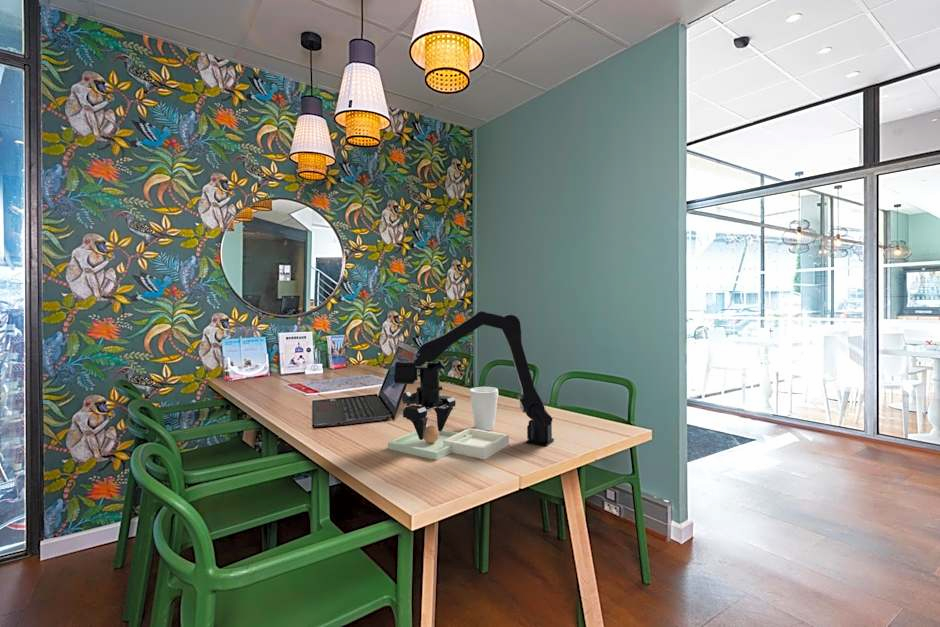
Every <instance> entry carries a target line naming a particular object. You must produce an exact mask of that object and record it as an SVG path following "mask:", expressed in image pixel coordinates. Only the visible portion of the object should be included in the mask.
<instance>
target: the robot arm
mask: <svg viewBox="0 0 940 627" xmlns="http://www.w3.org/2000/svg"><path fill="white" fill-rule="evenodd" d="M483 325H484V326H489V327H493V328H495V329H496V328H497V329H499V330H500V331H501V333H502V336H503V338H504V339H505V341H506V343H507V345H508V348H509V351H510V354H511V355H510V356H511V357H512V362H513V364H514V368H515V371H516V375H517V379H518V382H519V385H520V389H521V390H520V392H521V394H517V399H518V401H519V405H520V406H519V408H520V409H521V412H522V413H524V414H525V415H526V416H527V417H528V418H529V419H530V420H528V425H527V427H526V428H527V429H526V430H527V432H526V433H527V434H526V438H527V440H526V444H532V445H538V446H542V447H547V446H549V445H550V444H552V442H554V441H555V438H553V437H552V436H553V433H552V432H553V431H552V426H553V424H552V422H553V418H552V416H551V415H550V414H549V413H548V412H547V410H546V408H545V405H544V403H543V401H542V398H541V397H540V395H539V394H538V391H537V389H536V388H535V385H534V382H533V378H532V375H531V371H530V368H529V365H528V362H527V357H526V354H525V351H524V348H523V347H524V346H523V344H522V327H521V321H520V319H519V318H518V316H516V315H514V314H510V313H506V314H503V315H499V314H494V313H489V312H486V311H484V310H479V311H477V312H476V313H475V314H474V315H472V316H471V317H469V318H468V319H466V320H464V321H462V322H461V323H460V324H458V325H455V327H454V328H453V327H452V329H450V330H448V331H447V332H446V333H444V334H441V335H439V336H436V337H433V338H431V339H428V340H426V341H424V342H423V343H422V344H421V346H420V347H419V349H418V356H417V357H414V361H401V360H400V361H396V362H395V365H394V366H395V367H394V374H393V379H394V382H393V383H394V385H414V384H415V382H416V381H417V382H418V380H419V383H420V385H419V386H418V387H417V388H416V391H415V392H413V393H411V391H405V392H403V393H401V400H402V401H401V402H402V404H404V405H405V404H406V406H405V407H404V408H403V409H402V418H406V420H409V421H410V422H411V423H412V425H413V426H414V429H415V431H416V432H417V434H418V437H419V439H420V440H423V438H424V434H425V429H426V427H427V423H428V417H427V415H428V412H429V411H432V410H434V412H435V413H436V423H437V429H438V431H440V432H441V431H442V430H444V427H445V425H446V422H447V421H448V418H449V416H450V415H451V413H452V411H453V410H454V407H456V405H457V404H456V399H455V398H454V396H450V395H440V393H441V392H440V391H442V390H443V385H442V386H441V385H440V370H443V369H444V370H445V369H446V365H445V364H444V363H443V362H442V360H441V359H438V358H439V357H440V356H441V355H442V354H444V353H445V351H446V350H447V349H448V348H450V347H451V345H453V344H455V343H456V342H458V341H459V340H461V339H463V338H464V337H466V336H467V335H469V334H471V333H472V332H474V331H475V330H476V329H478V328H479V327H482V326H483ZM437 359H438V361H436V360H437ZM434 361H436V362H434ZM425 363H427V364H426V365H423V364H425Z"/></svg>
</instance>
